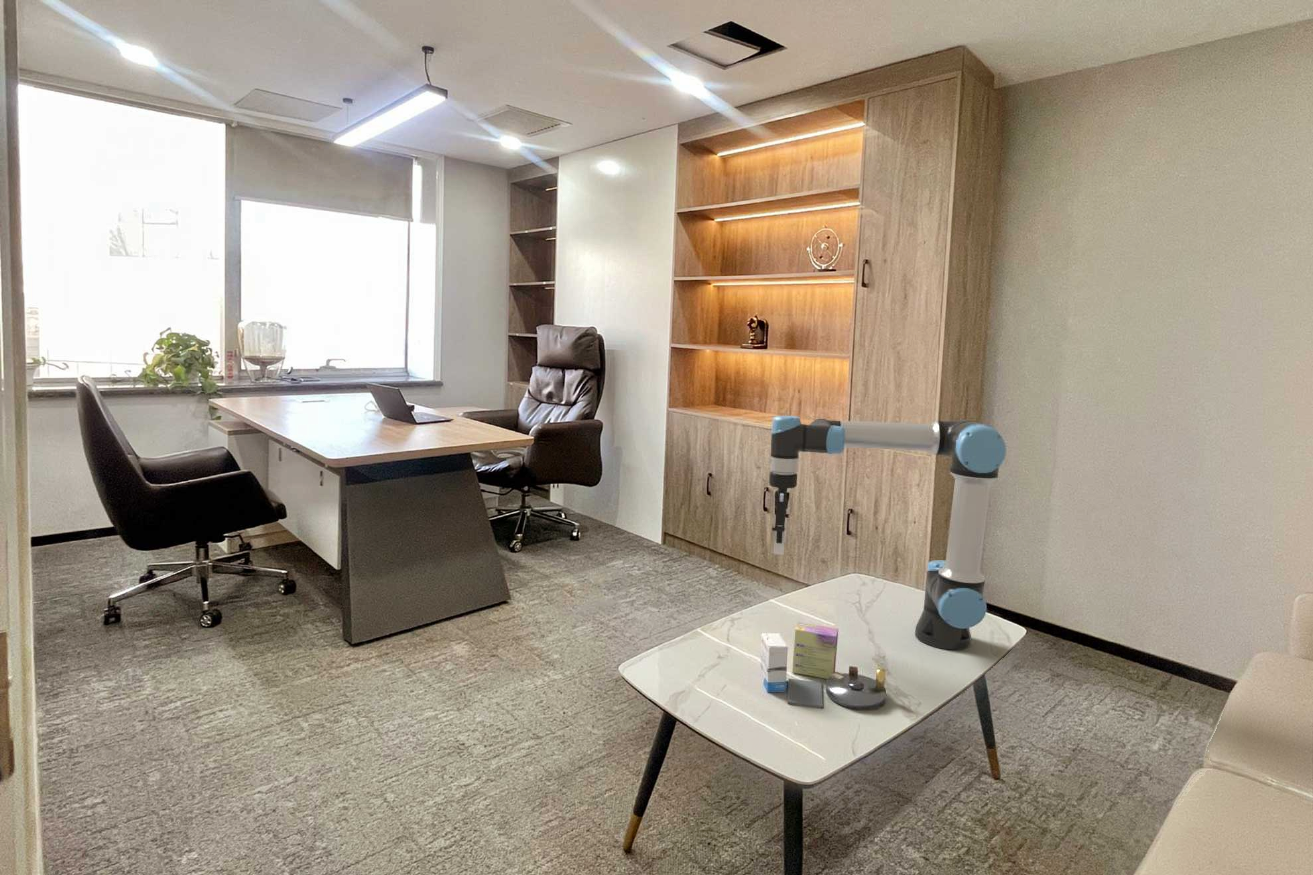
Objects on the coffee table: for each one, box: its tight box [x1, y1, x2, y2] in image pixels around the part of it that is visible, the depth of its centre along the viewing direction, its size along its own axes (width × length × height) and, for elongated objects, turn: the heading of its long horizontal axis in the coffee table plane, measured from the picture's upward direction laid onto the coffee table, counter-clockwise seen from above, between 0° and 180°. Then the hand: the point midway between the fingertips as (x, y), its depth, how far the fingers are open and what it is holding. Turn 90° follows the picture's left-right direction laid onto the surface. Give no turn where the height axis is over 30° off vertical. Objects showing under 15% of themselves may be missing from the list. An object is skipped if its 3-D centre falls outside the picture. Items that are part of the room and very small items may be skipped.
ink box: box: [759, 632, 789, 693], centre depth 182 cm, size 9×5×12 cm, turn 5°
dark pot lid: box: [825, 667, 887, 710], centre depth 178 cm, size 14×14×7 cm
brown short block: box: [848, 665, 859, 675], centre depth 186 cm, size 2×2×3 cm
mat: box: [787, 678, 824, 709], centre depth 178 cm, size 8×12×1 cm, turn 169°
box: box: [791, 621, 839, 680], centre depth 189 cm, size 10×6×12 cm, turn 71°
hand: (779, 547), depth 205 cm, fingers open, 13 cm apart
